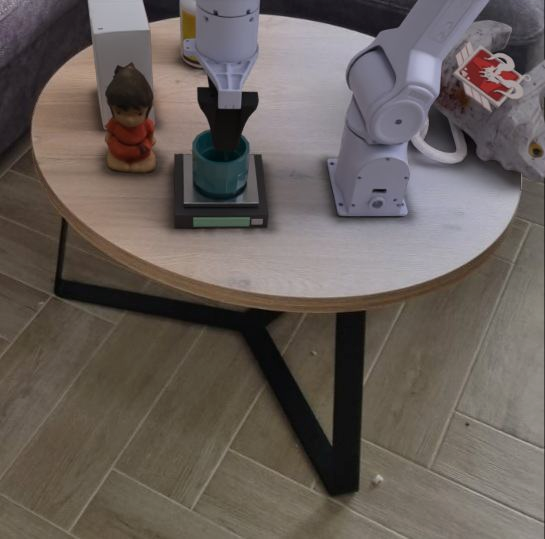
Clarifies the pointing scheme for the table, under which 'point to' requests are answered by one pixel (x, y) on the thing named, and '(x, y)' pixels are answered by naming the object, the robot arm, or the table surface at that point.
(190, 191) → the pan
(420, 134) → the white looped part
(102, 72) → the small box
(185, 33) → the pill bottle
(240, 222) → the scale base
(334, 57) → the table surface
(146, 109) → the figurine
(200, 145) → the cup
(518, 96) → the decorative emblem
